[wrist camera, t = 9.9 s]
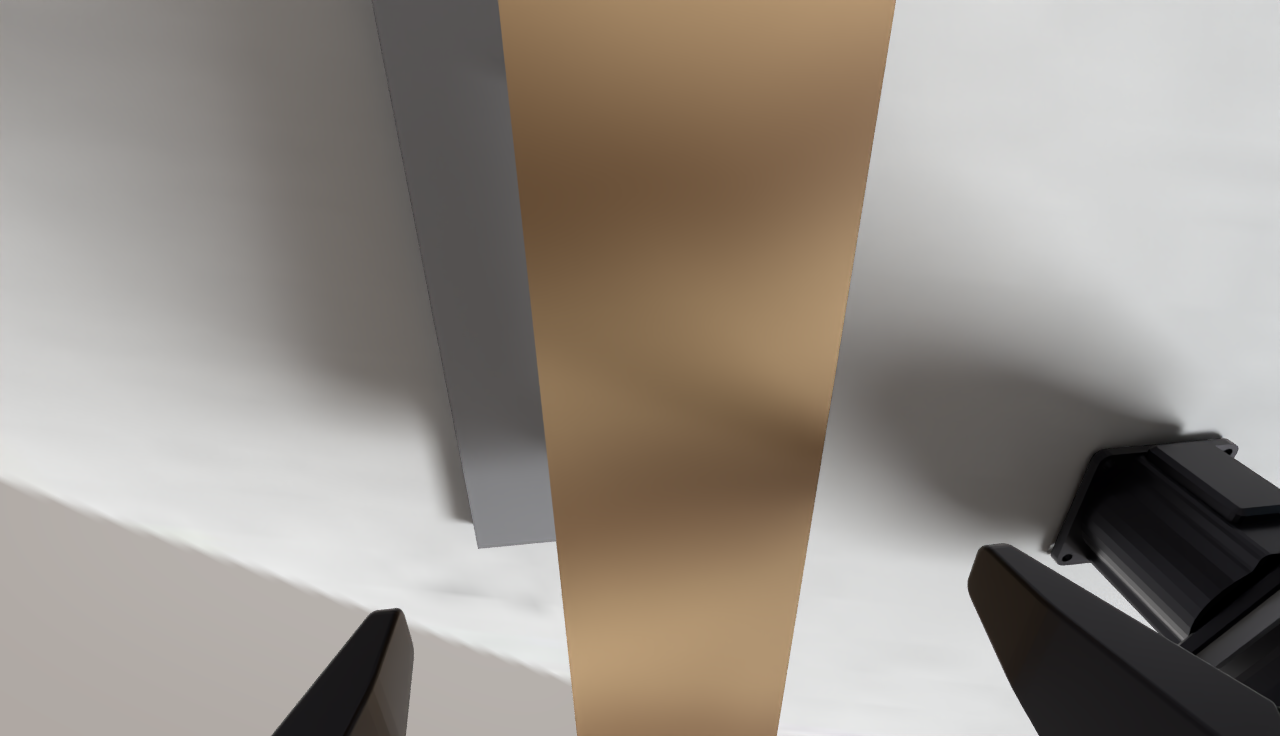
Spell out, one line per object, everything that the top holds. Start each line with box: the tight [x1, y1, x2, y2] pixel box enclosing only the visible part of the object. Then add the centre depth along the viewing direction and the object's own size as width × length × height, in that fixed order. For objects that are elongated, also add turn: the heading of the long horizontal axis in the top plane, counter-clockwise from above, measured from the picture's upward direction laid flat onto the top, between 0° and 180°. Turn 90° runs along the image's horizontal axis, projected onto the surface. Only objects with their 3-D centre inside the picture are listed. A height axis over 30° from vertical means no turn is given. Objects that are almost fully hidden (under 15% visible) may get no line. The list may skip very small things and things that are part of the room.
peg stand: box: [372, 0, 556, 549], centre depth 18 cm, size 20×12×6 cm, turn 1°
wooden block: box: [498, 0, 896, 736], centre depth 13 cm, size 16×5×5 cm, turn 1°
